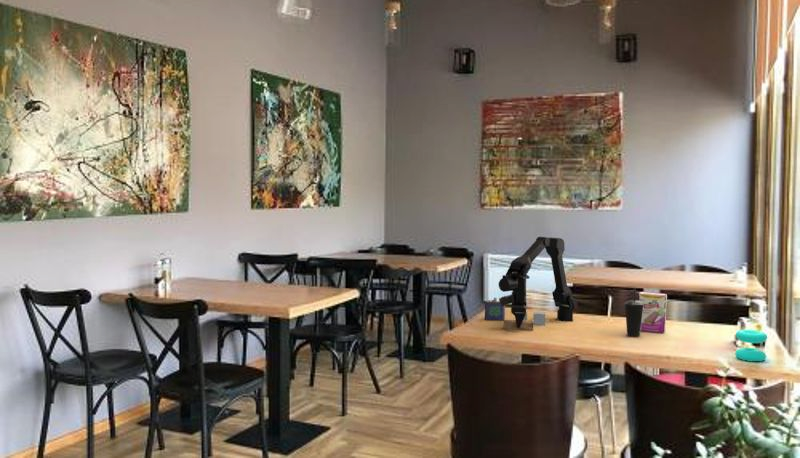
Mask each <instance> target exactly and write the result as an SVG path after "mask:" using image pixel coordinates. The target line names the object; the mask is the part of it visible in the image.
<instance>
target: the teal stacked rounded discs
mask: <svg viewBox="0 0 800 458" xmlns="http://www.w3.org/2000/svg"><path fill="white" fill-rule="evenodd" d="M735 336H736V338H737V339H738V340H739V341H741V342H744V343H749V344H761V343H764V342H766V341H767V339H768V336H767V334H766V333H765V332H763V331H760V330H756V329H755V330H754V329H740V330H737V331H736V332H735ZM734 355H735V357H736V358H737V359H739V360H741V359H742V361H745V360H748V361H747V362H752V361H760V362H764V361H765V360H766V358H767V355H766V352H764V351H763V350H761V349H758V348H754V347H741V348H738V349H737V350H735V353H734ZM763 360H764V361H763Z"/></svg>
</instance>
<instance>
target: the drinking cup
mask: <svg viewBox="0 0 800 458" xmlns="http://www.w3.org/2000/svg"><path fill="white" fill-rule="evenodd" d="M636 292H637V291H636V287H633V299H631V300H628V301H625V302H624V306H625V307H624V308H625V319H626V321H625V323H626V324H625V325H626V336H627V337H630V338H631V337H632V338H638V337H640V333H641V331H640V328H641V320H642V312H643V305H644V303H642V302H640V301H639V300H636Z"/></svg>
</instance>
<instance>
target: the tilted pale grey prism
mask: <svg viewBox="0 0 800 458" xmlns="http://www.w3.org/2000/svg"><path fill="white" fill-rule="evenodd" d="M514 320H516V319H514ZM523 320H528V311H526V314H525V317H524V319H523Z"/></svg>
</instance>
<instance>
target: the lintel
mask: <svg viewBox="0 0 800 458" xmlns="http://www.w3.org/2000/svg"><path fill="white" fill-rule="evenodd" d="M533 323H534V320H530V319H529V320H528V319H527V320H523V321H522V324H521V326H520V328H517V324H516V320H515V319H505V320H504V321H503V329H504V331H525V332H531V331H532V332H534V325H533Z"/></svg>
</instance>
